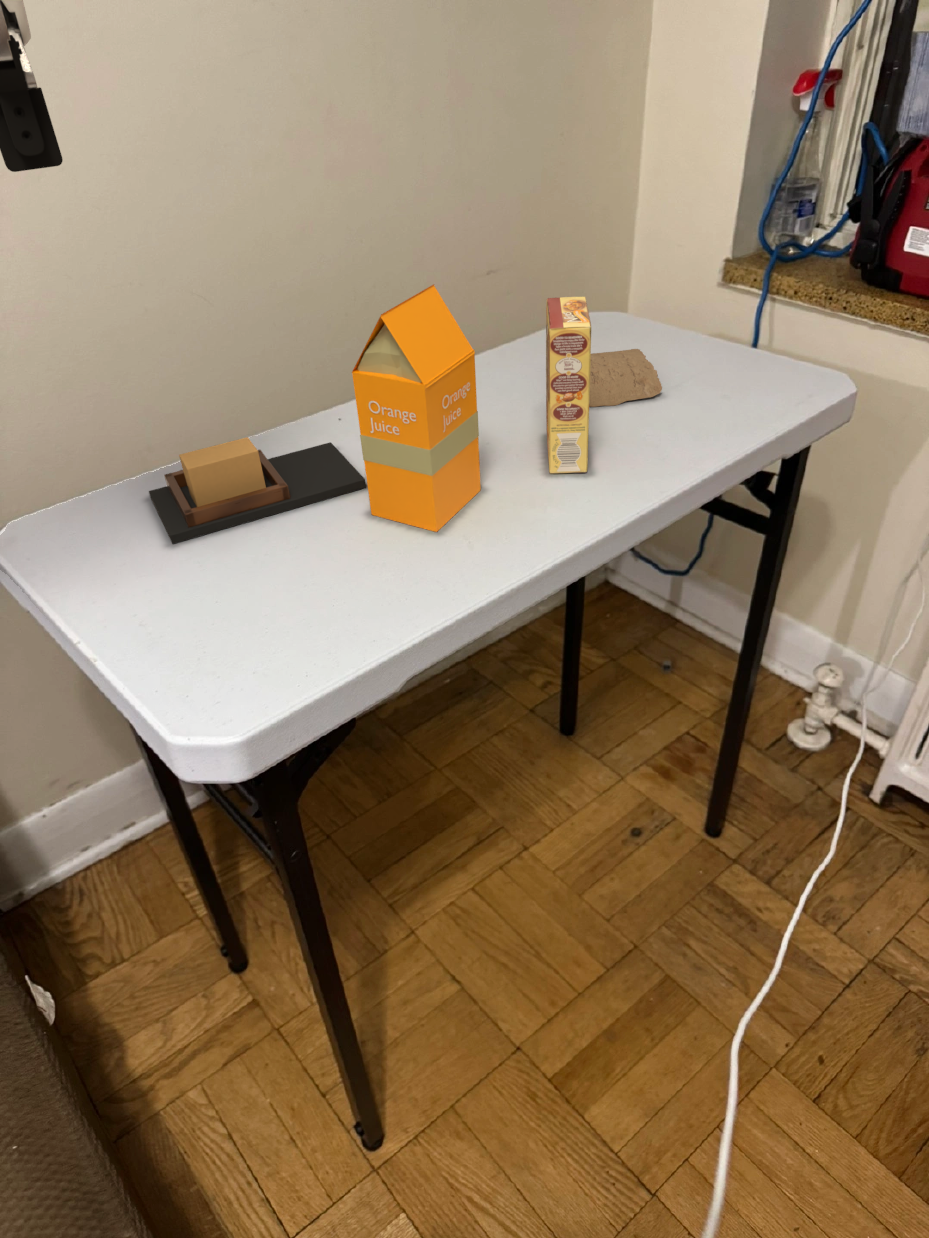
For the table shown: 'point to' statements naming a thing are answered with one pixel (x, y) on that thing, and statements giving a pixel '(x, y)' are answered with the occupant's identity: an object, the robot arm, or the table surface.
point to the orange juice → (418, 414)
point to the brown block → (222, 471)
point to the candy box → (567, 383)
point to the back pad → (258, 492)
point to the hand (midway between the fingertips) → (27, 156)
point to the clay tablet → (621, 378)
